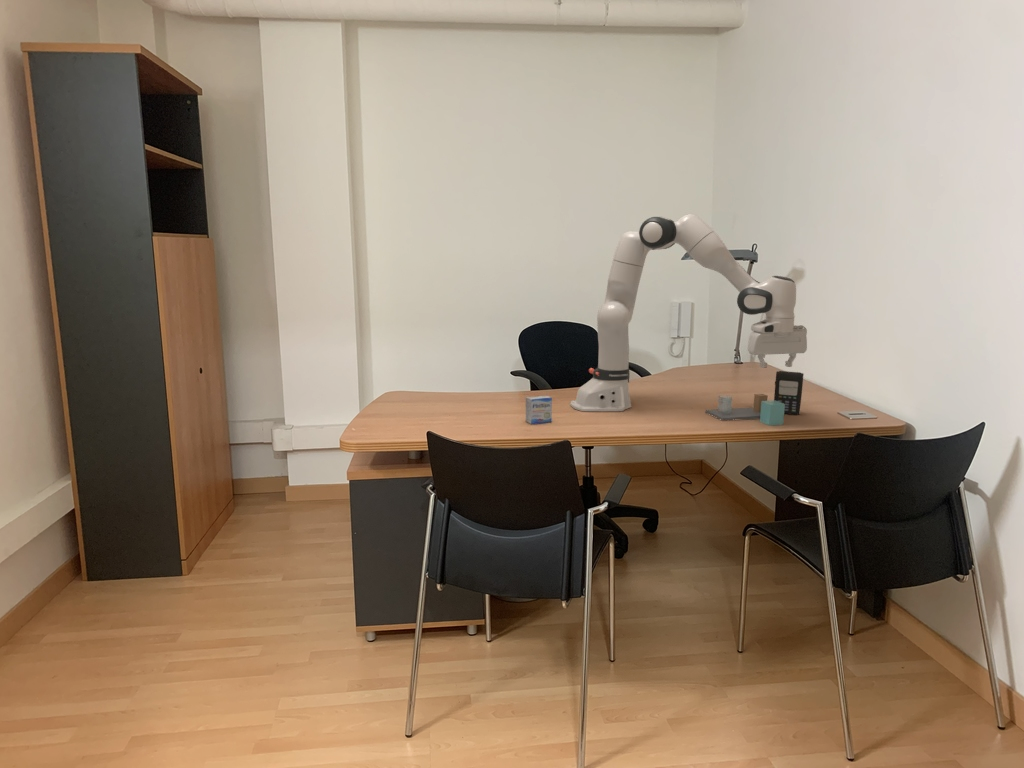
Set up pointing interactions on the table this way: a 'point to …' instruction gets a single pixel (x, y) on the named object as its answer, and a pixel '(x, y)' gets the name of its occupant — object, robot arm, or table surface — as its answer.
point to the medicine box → (538, 409)
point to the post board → (742, 410)
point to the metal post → (724, 405)
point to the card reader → (789, 390)
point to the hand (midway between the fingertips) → (776, 367)
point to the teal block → (772, 412)
